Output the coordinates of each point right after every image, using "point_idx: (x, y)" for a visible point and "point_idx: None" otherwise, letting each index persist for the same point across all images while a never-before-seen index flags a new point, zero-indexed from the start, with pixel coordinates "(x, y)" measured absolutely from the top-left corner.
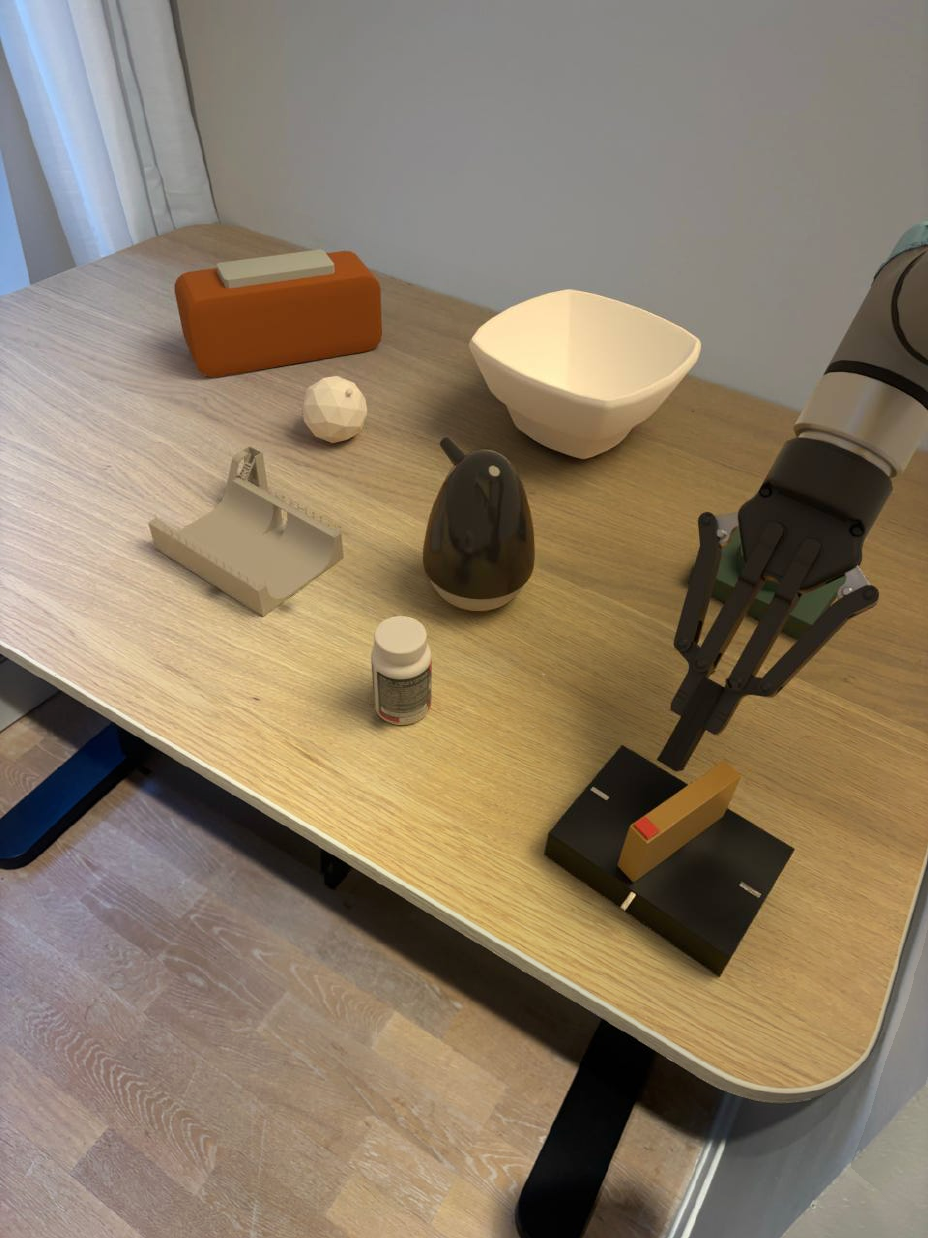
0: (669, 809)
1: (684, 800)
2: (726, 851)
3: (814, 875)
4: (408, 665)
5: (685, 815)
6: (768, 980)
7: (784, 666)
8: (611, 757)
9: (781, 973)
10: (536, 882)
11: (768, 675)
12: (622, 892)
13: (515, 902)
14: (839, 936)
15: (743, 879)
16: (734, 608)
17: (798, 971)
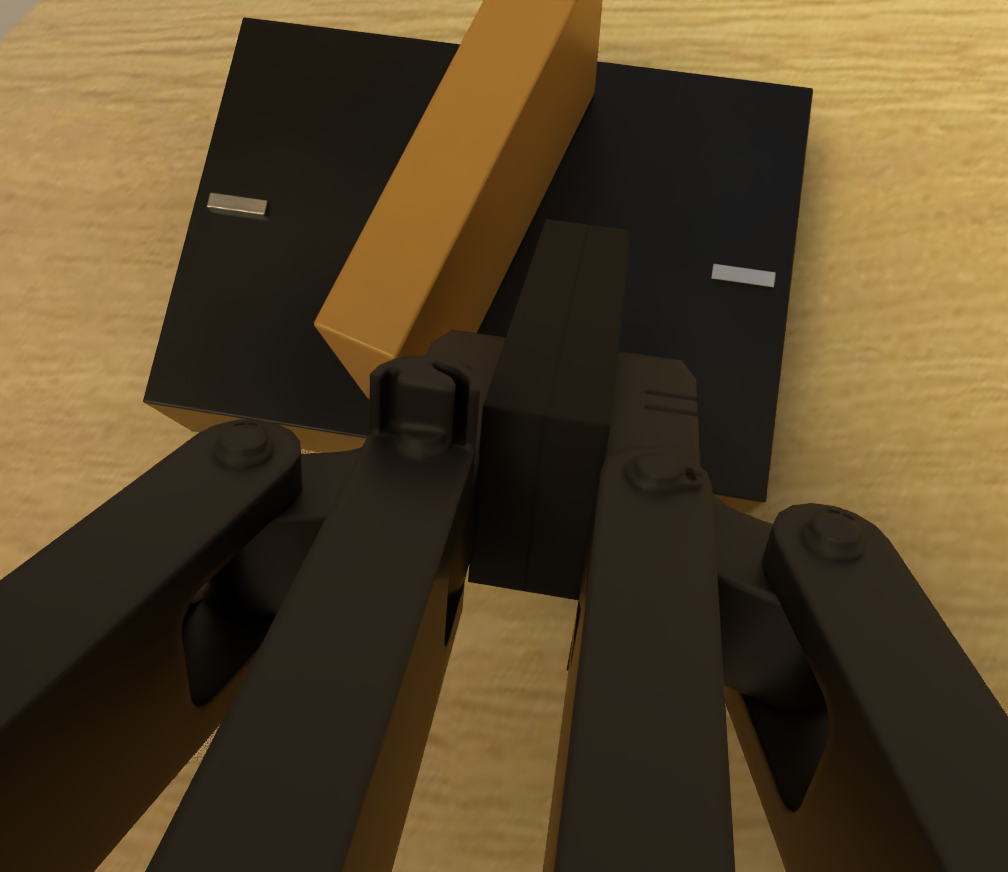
0: (510, 57)
1: (475, 114)
2: (328, 290)
3: (108, 463)
4: None
5: (452, 62)
6: (172, 137)
7: (133, 551)
8: (773, 431)
9: (147, 167)
10: (759, 81)
11: (237, 494)
12: None
13: (777, 14)
14: (28, 325)
15: (262, 230)
16: (628, 828)
17: (111, 191)
